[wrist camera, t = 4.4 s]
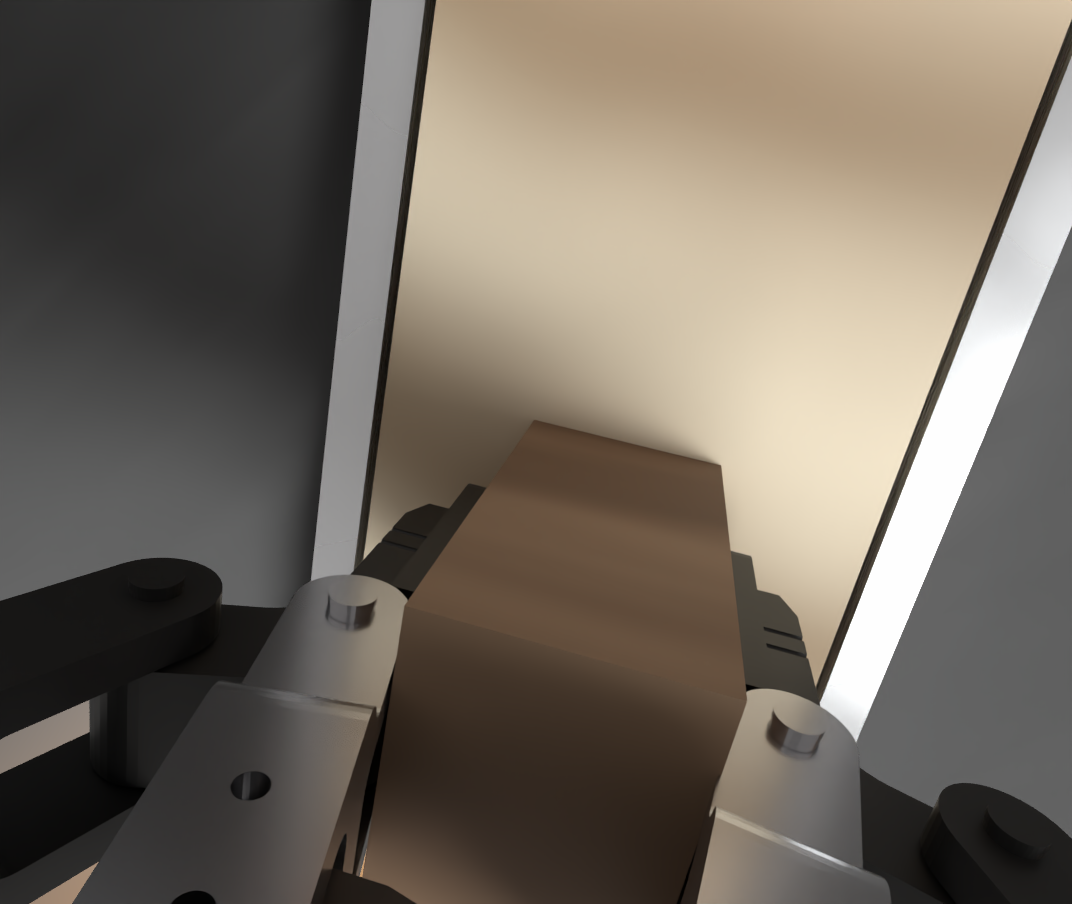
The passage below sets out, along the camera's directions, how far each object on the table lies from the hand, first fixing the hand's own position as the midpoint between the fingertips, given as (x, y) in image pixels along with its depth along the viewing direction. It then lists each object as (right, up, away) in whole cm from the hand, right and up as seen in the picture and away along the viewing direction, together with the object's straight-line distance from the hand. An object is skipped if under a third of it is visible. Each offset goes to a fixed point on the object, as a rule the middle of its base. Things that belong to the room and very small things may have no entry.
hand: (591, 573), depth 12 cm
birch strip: (+2, +8, -1) cm, 8 cm away
